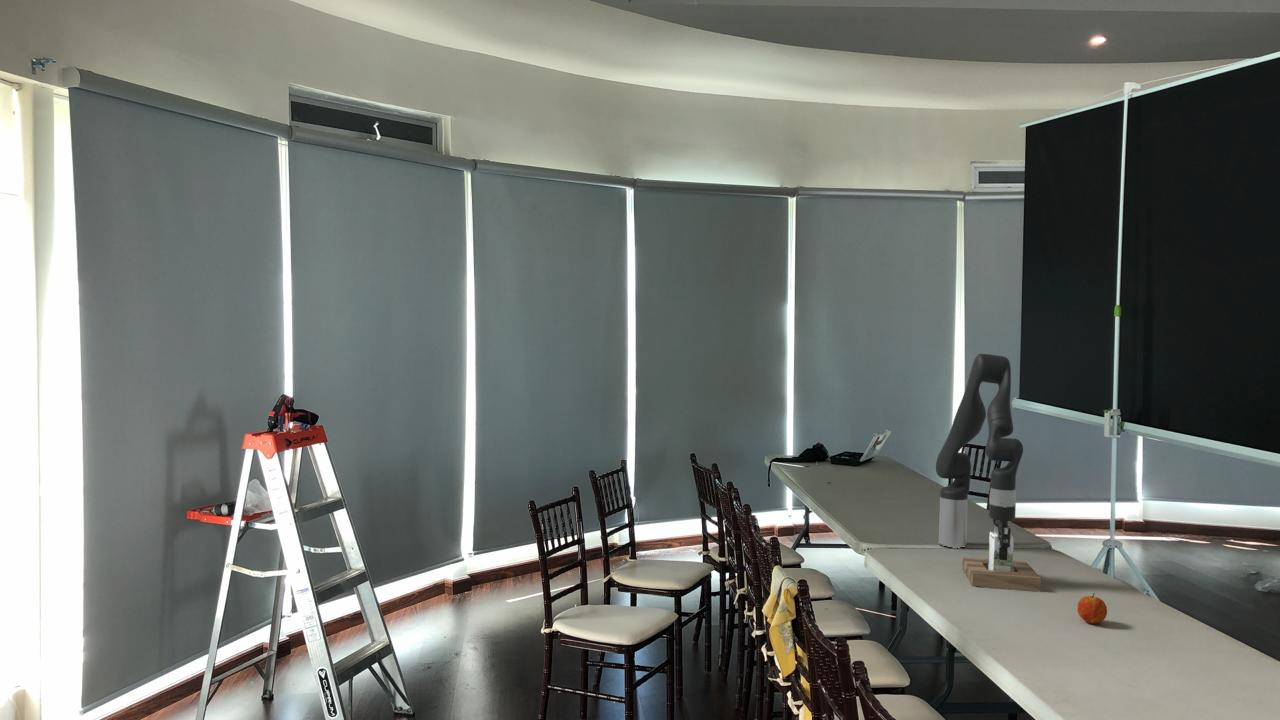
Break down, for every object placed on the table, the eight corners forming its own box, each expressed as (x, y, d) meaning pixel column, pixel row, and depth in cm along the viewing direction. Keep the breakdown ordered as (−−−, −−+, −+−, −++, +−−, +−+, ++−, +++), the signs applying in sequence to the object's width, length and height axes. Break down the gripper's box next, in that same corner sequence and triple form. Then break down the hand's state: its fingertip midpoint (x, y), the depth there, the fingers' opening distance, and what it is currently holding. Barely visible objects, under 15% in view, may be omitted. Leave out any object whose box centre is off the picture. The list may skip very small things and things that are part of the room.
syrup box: (1006, 577, 271) (1008, 531, 271) (1012, 583, 265) (1014, 536, 265) (987, 576, 272) (989, 530, 271) (992, 582, 266) (994, 535, 265)
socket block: (962, 569, 280) (962, 557, 280) (1025, 574, 276) (1026, 561, 276) (972, 586, 262) (972, 573, 261) (1040, 591, 258) (1040, 578, 258)
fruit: (1070, 619, 232) (1071, 590, 232) (1090, 617, 235) (1091, 587, 235) (1092, 628, 226) (1093, 597, 226) (1112, 625, 228) (1114, 595, 228)
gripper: (985, 498, 276) (983, 550, 276) (993, 507, 262) (992, 561, 262) (1010, 499, 274) (1008, 552, 275) (1020, 508, 260) (1018, 563, 261)
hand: (1000, 556), depth 269 cm, fingers open, 7 cm apart
